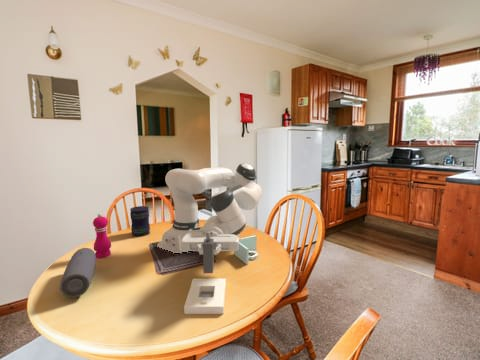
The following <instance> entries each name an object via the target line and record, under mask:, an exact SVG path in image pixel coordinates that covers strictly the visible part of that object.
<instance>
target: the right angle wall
mask: <svg viewBox="0 0 480 360" xmlns="http://www.w3.org/2000/svg"><path fill="white" fill-rule="evenodd" d="M239 238H240V237H239ZM257 238H258V237H257V235H256V234H255V235H251V236H246V237H241V238H240V240H239V249H238V250H237V251H233V255H234V256H236V257H237V258H238V259H239V260H240V261H242V262H243V263H244V264H245V265H249V264H250V263H249V261H251V260H252V261H254V260H258V257H259V253H258V252H257V251H256V250H257Z"/></svg>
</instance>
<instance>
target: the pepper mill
mask: <svg viewBox="0 0 480 360" xmlns="http://www.w3.org/2000/svg"><path fill="white" fill-rule="evenodd" d="M108 223H109V219H108V218H107V217H106V216H103V214H102V213H98V214H97V217H95V218H94V219H93V221H92V225H93V227H94V231H95V234H96V235H95V236H96V237H95V238H96V239H95V241H94V243H93V251H94V252H95V254H96V259H104V258H107V257H109V256H111V254H112V252H111V251H112V250H111V248H112V242H111V240H110V239H109V237H108V234H107V230H108V226H107V225H108Z"/></svg>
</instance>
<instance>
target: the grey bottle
mask: <svg viewBox="0 0 480 360" xmlns="http://www.w3.org/2000/svg"><path fill="white" fill-rule="evenodd" d="M213 248H214V239H211V238H210V232H206V239H204V242H203V255H202V256H203V257H202V261H203V262H202V263H203V264H202V267H203V269H202V270H203V274H214V270H215V269H214V268H215V255H213Z"/></svg>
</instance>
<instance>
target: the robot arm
mask: <svg viewBox="0 0 480 360" xmlns="http://www.w3.org/2000/svg"><path fill="white" fill-rule="evenodd" d="M256 173H257V172H256V169H255V167H254V166H252V165H250V164H249V163H240V164H238V166H237V167H236V169H235V173H234V172H233V171H232V170H231V169H230V168H228V167H222V166H221V167H219V166H218V167H217V166H216V167H215V166H214V167H203V168H201V169H195V170H194V169H186V168H185V169H184V168H174V169H170V170H169V171H168V172H167V173H166V175H165V178H164V179H165V184H166V186H167V187H168V188H169V190H170V191H169V192H170V194H171V198H172V201H173V206H174V219H173V220H171V221H170V224H172V226H171V227H170V228H169V229H167V230H166V231H165V232H163V234H162V237H161V241H159V242H158V243H157V245H156V247H157V248H158V247H159V249H161V248H162V249H161V250H164V249H165V250H164V251H166V250H168V251H167V252H169V251H171V252H173V253H172V254H174V253H180V254H183V253H182V252H187V253H189V252H188V251H193V252H198V253H199V256H200V255H201V256H203V242H204V239H206V232H210V238H211V239H214V248H213V255H214V256H215V255H218V254H219V253H220V252H234V251H237V250H238V249H239V240H240V237H239V236H238V235H240V234H241V233H242V232H243V231H244V229H245V228H246V224H247V220H246V217H245V215H244V213H243V212H242V210H244V211H252V210H254V209H256V208H257V207H258V205H259V204H260V202H261V200H262V197H263V188H262V187H261V185H260V184H258V183H256V182H255V181H256V180H257V178H258V177H257V175H256ZM220 188H226V189H225V190H220V191H218V192H216V193H214V195H212V196H211V199H210V201H209V206H210V207H211V208H212V210H213V211H214V213H215V215H212V216H210V217H208V219H207V220H206V221H205V222H204V224H203V226H200V219H199V206H198V202H197V200H196V199H195V197H194V196H193V195H199V194H200V195H201V194H203V193H204V192H205V191H208V190H212V189H220ZM171 252H170V253H171Z"/></svg>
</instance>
